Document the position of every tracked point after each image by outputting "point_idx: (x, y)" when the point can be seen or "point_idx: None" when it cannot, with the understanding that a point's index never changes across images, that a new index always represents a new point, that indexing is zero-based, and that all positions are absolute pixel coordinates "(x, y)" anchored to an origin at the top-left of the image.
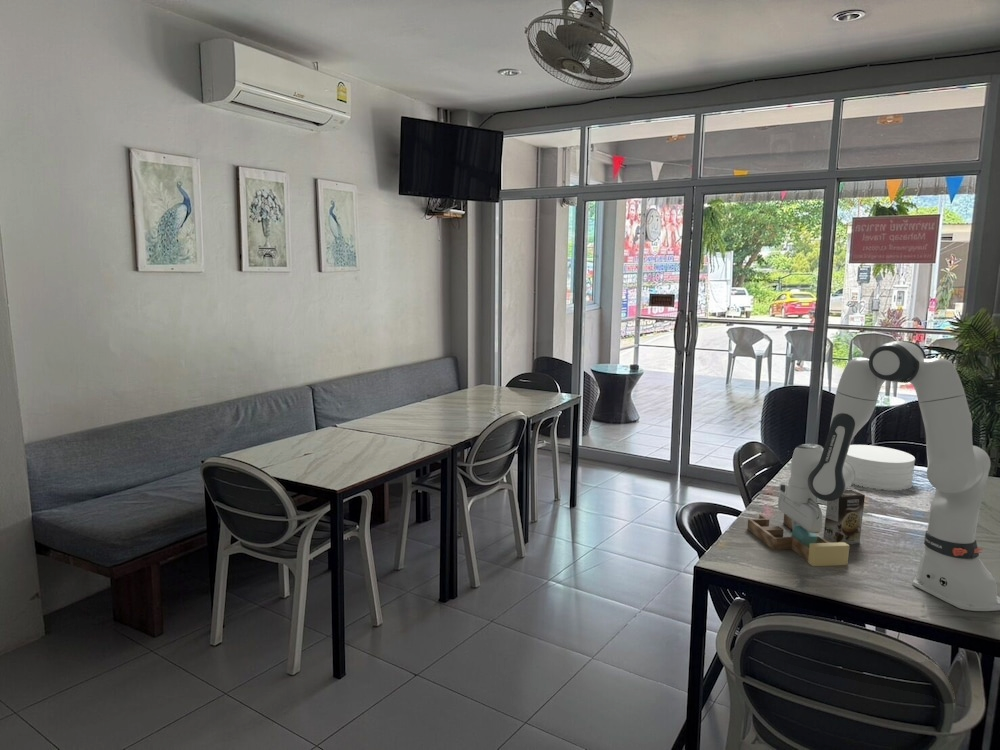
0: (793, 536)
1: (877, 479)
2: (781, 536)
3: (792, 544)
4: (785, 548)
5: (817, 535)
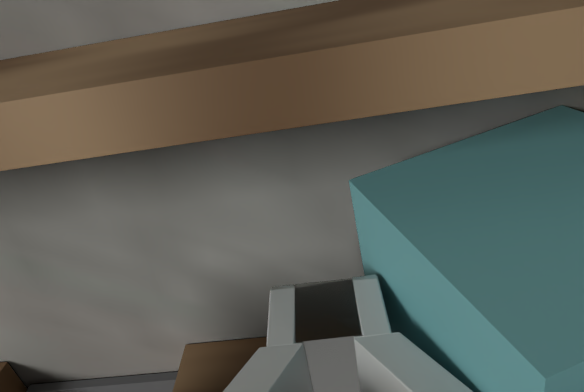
0: None
1: None
2: None
3: None
4: None
5: (573, 68)
